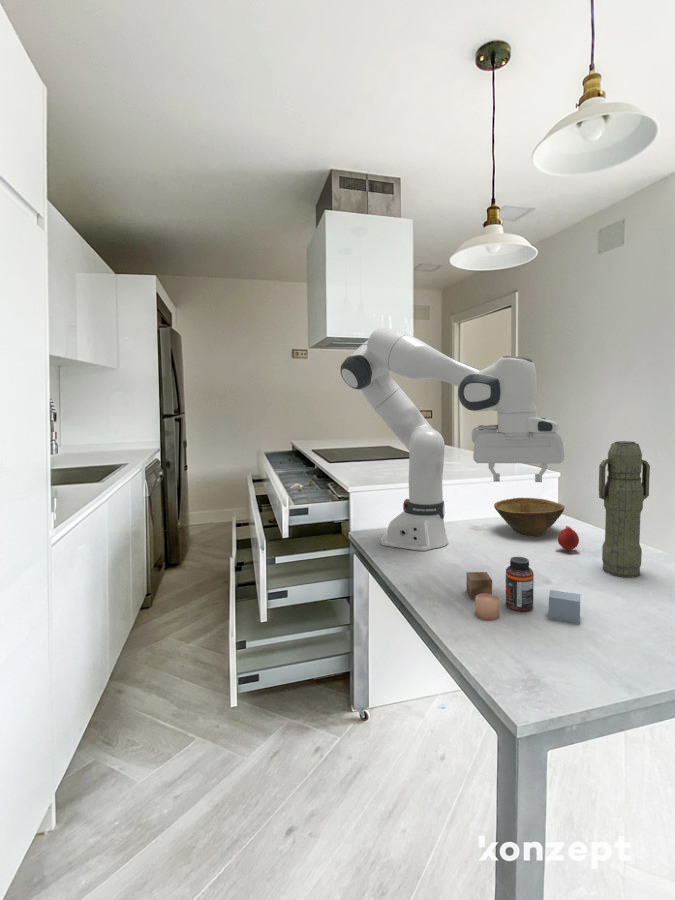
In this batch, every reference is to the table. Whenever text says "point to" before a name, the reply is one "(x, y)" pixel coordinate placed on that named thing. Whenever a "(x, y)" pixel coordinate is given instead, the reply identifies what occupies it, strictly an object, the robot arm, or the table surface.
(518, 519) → the bowl
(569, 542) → the onion
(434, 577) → the table surface
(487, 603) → the peach rounded cylinder
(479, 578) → the walnut cube
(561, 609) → the slate block
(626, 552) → the thermos
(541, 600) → the table surface
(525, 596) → the supplement bottle
